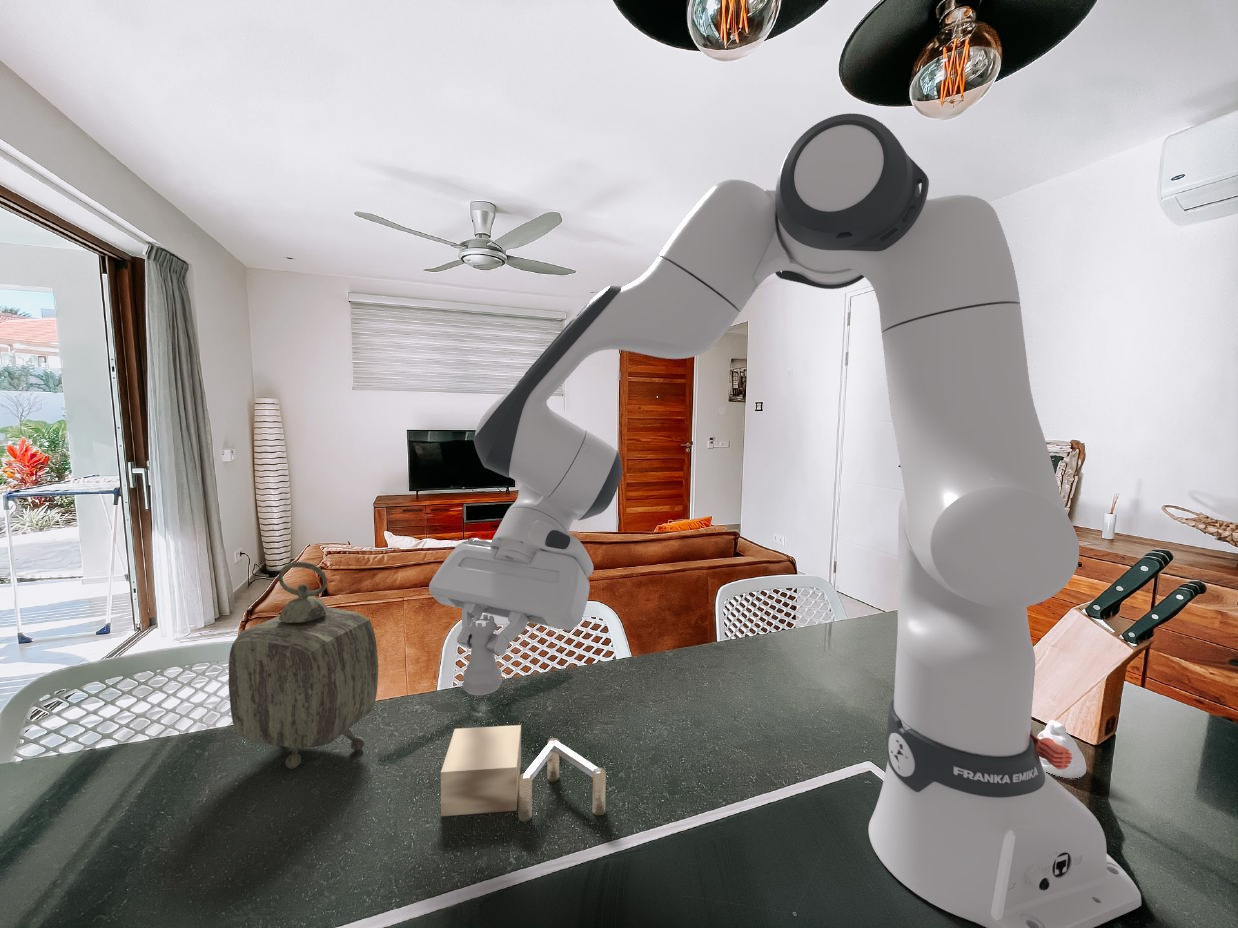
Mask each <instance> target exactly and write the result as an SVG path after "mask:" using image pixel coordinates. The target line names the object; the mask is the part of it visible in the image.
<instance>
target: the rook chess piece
mask: <svg viewBox="0 0 1238 928" xmlns="http://www.w3.org/2000/svg"><path fill="white" fill-rule="evenodd" d="M482 616H483V618H480V616H475V618H472V619H471V624H470V626H469V627H468V630H469V632H470V633H471V634H472V638H471V640H470V643H471V644H472V649H471V651H470V659H469V662H468V664H467V666H466V669H465V671H464V672H463V675H462V679H463V682H462V689H463V690H464V691H465V692H466V693H468V694H469V695H472V696H485V695H490V694H493V693H494V692H496V691H497V690H498V689H499V688H500V686H501V685H502V683H503V680H502V671H501V670H502V669H501V667H500V666H499V664H498V662H497V661H496V658H495V657H496V656H495V654H492V653H490V651H488V650H487V645H488V643H489V642H490V638H491V636H492V634H495V631H496V630H497V628H498V625H497V623H496V622H495V617H494V615H490V616H489V614H482Z"/></svg>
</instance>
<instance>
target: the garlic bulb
mask: <svg viewBox="0 0 1238 928" xmlns="http://www.w3.org/2000/svg"><path fill="white" fill-rule="evenodd" d="M1036 737H1037V738H1039V739H1042V738H1050V739H1052V740H1053V741H1054V742H1055V743H1056V744H1058V745H1061V746H1063V747H1065V748H1066V749H1068V750H1069V752H1070V753H1071V754H1072V756H1071V757H1072V760H1070V761H1071V764H1068V767H1067V768H1065V769H1057V768H1055V767H1054V766H1053V765H1051V764H1050V763H1049V762H1048V761H1047V760H1046V759H1044V758H1041V757H1040V756H1039V758H1040V761H1041V764H1042V767H1043V770H1044V771H1045V772H1048V773H1050V774H1049V775H1051V774H1053V775H1056V776H1055V777H1057V776H1060V777H1064V778H1071V779H1070V780H1073V779H1072V778H1078V779H1080V778H1082V777H1083V776H1084V775H1085V774H1086V772H1087V764H1086V759H1085V757H1084V754H1083V753H1082V751H1081V750H1080V748H1079V747H1078V745H1077V743H1076V741H1075V740H1074V739H1073V738H1072V737H1071V735H1070V734H1068V733H1067V728H1066V726H1065V725H1064V724H1062V723H1061V722H1059V721H1057V720H1054V719H1050V720H1049V721H1048V723H1047V724H1046V726H1045V727H1044V729H1043V730H1042V731H1040V732H1039V733H1038V734H1037V736H1036ZM1048 773H1047V774H1048ZM1053 775H1052V776H1053ZM1060 777H1059V778H1060ZM1079 777H1080V778H1079ZM1064 778H1063V779H1064Z"/></svg>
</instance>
